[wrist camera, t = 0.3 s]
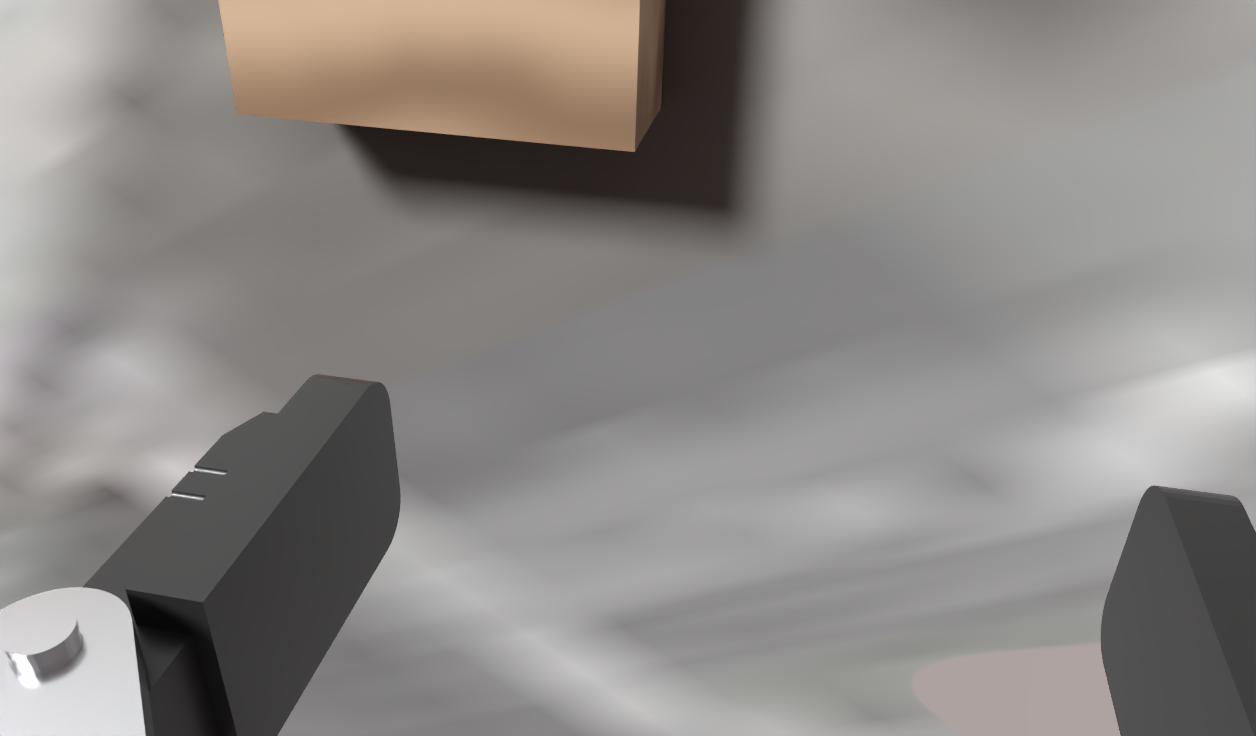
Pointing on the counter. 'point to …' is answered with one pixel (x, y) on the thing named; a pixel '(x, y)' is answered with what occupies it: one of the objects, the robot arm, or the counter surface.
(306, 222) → the counter surface
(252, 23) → the light brown square block
